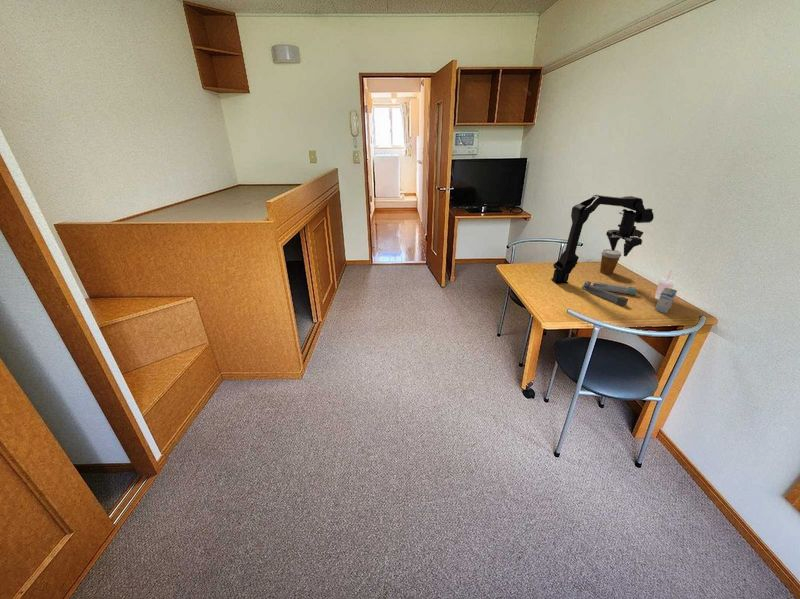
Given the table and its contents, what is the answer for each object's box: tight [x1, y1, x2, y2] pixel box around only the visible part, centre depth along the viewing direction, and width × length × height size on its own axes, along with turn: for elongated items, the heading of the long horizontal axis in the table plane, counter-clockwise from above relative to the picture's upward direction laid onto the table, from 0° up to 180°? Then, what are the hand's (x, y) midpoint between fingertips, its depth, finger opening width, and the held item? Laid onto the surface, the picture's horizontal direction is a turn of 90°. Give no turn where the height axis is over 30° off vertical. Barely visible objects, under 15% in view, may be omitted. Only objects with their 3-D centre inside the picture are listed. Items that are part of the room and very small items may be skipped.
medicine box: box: [654, 288, 678, 314], centre depth 146 cm, size 8×4×9 cm, turn 135°
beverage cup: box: [654, 270, 676, 300], centre depth 154 cm, size 6×6×14 cm
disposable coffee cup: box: [599, 248, 622, 275], centre depth 184 cm, size 10×10×12 cm
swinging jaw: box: [592, 281, 638, 296], centre depth 164 cm, size 18×3×3 cm, turn 63°
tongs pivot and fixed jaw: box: [581, 280, 629, 307], centre depth 160 cm, size 23×5×4 cm, turn 25°
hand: (618, 253), depth 171 cm, fingers open, 9 cm apart
